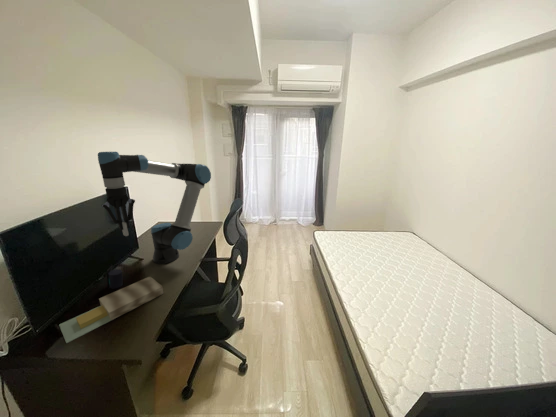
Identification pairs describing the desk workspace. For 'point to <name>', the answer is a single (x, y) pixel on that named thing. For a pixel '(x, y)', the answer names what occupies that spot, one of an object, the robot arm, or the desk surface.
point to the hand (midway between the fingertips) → (126, 235)
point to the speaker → (114, 278)
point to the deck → (130, 297)
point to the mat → (73, 329)
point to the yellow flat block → (91, 317)
